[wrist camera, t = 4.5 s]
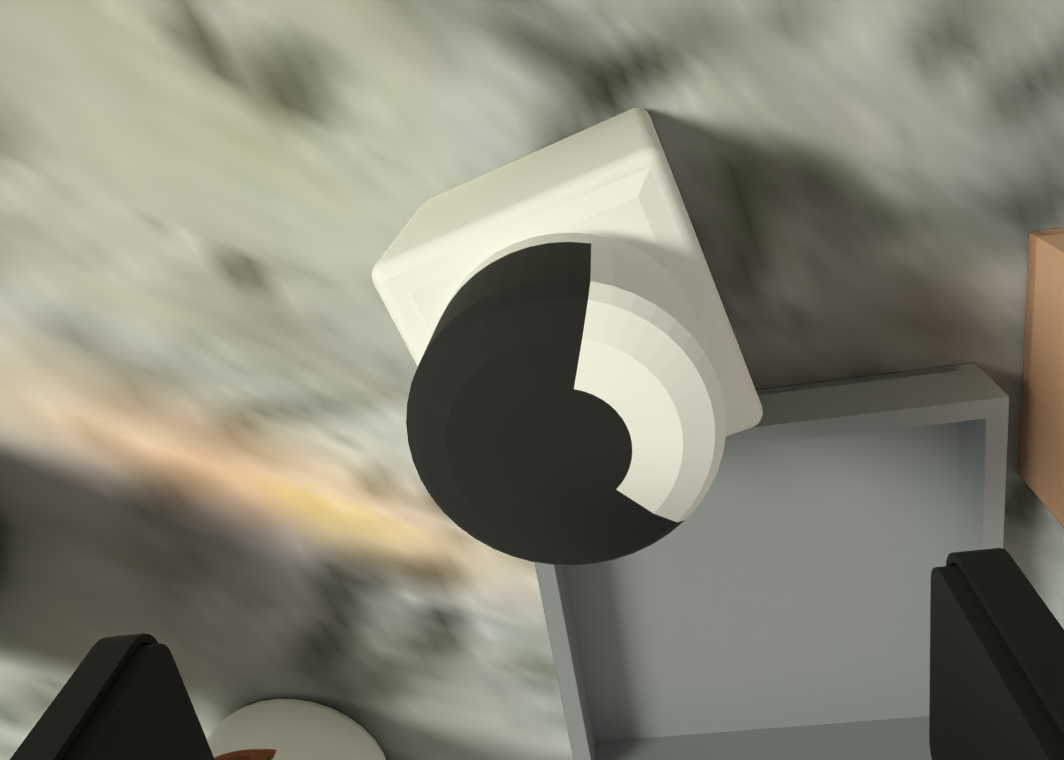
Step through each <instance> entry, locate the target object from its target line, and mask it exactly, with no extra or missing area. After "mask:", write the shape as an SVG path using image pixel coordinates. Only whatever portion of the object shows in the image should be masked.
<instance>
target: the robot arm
mask: <svg viewBox="0 0 1064 760" xmlns="http://www.w3.org/2000/svg"><path fill="white" fill-rule="evenodd" d="M929 746H930V753H931V758H932V760H1064V630H1063V628H1062V627H1061V625H1060V624H1059V623H1058V621H1057V620H1056V618H1055V617H1054V616H1053V614H1052V613H1051V611H1050V610H1049V609H1048V607H1047V606H1046V604H1045V603H1044V602H1043V600H1042V599H1041V598H1040V596H1039V595H1038V593H1037V592H1036V591H1035V589H1034V588H1033V586H1032V585H1031V584H1030V582H1029V581H1028V579H1027V578H1026V577H1025V575H1024V574H1023V573H1022V571H1021V570H1020V568H1019V567H1018V566H1017V564H1016V563H1015V561H1014V560H1013V559H1012V557H1011V556H1010V554H1009V553H1008V552H1007V551H1006V550H1005V549H1002V548H993V549H983V550H973V551H963V552H953V553H950V554H949V555H948V557H947V560H946V566H943V567H934V568H933V569H932V572H931V597H930V702H929ZM10 760H215V759H214V757H213V754H212V752H211V749H210V747H209V744H208V742H207V739H206V737H205V735H204V732H203V730H202V727H201V725H200V722H199V720H198V717H197V715H196V713H195V710H194V708H193V705H192V703H191V700H190V698H189V695H188V693H187V691H186V688H185V686H184V683H183V681H182V678H181V676H180V673H179V671H178V669H177V666H176V664H175V661H174V659H173V656H172V654H171V652H170V650H169V648H168V647H167V646H166V645H164V644H158V642H157V641H156V639H155V638H154V637H153V636H151V635H150V634H136V635H126V636H116V637H106V638H103V639H101V640H99V641H98V642H97V643H96V644H95V645H94V646H93V648H92V649H91V650H90V652H89V653H88V654H87V656H86V657H85V658H84V660H83V661H82V663H81V664H80V665H79V667H78V668H77V669H76V671H75V672H74V673H73V675H72V676H71V677H70V679H69V680H68V682H67V683H66V684H65V686H64V687H63V688H62V690H61V691H60V692H59V694H58V695H57V696H56V698H55V699H54V701H53V702H52V703H51V705H50V706H49V707H48V709H47V710H46V711H45V713H44V714H43V715H42V717H41V718H40V720H39V721H38V722H37V724H36V725H35V726H34V728H33V729H32V730H31V732H30V733H29V734H28V736H27V737H26V739H25V740H24V741H23V743H22V744H21V745H20V747H19V748H18V749H17V751H16V752H15V753H14V755H13V756H12V758H11V759H10Z"/></svg>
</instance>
